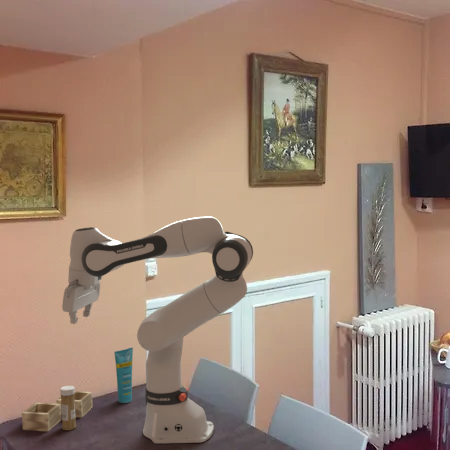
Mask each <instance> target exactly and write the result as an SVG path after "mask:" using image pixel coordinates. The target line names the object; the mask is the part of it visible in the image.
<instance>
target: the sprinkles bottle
mask: <svg viewBox="0 0 450 450" xmlns="http://www.w3.org/2000/svg"><path fill="white" fill-rule="evenodd" d="M59 390H60V391H59V392H60V397H61V412H62V416H61V423H62V427H61V428H62V430H63V431H73V430H75V429H76V428H77V423H76V422H77V421H76V419H77V417H76V415H75V399H74V394H75V391H76V388H75V386H74V385H65V386H62V387H60V389H59Z"/></svg>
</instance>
